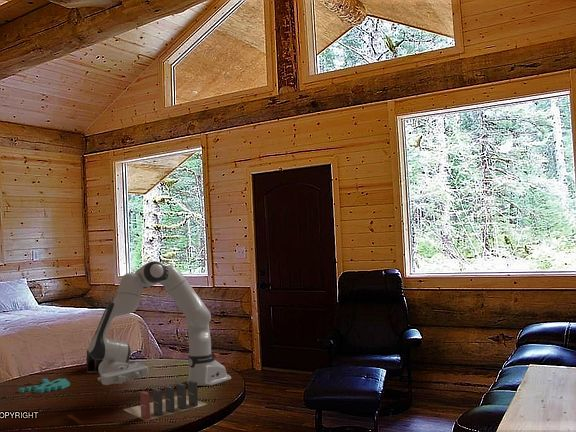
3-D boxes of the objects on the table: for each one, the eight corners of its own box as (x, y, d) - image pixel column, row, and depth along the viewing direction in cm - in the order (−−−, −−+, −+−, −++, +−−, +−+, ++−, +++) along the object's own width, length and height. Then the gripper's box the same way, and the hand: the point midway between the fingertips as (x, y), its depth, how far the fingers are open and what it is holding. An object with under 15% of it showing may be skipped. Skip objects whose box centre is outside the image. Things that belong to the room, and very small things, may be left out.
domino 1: (157, 412, 228) (156, 388, 228) (162, 415, 224) (161, 390, 224) (153, 413, 227) (152, 389, 227) (159, 416, 223) (158, 391, 223)
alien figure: (18, 393, 275) (54, 393, 271) (18, 388, 275) (53, 389, 271) (43, 382, 294) (77, 382, 290) (43, 378, 294) (77, 378, 290)
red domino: (144, 415, 224) (143, 391, 225) (150, 418, 220) (149, 393, 221) (141, 416, 223) (140, 391, 224) (146, 419, 219) (145, 394, 220)
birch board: (183, 396, 253) (183, 394, 253) (208, 406, 236) (208, 404, 236) (123, 411, 234) (122, 409, 234) (145, 423, 217) (145, 421, 217)
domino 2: (169, 409, 231) (168, 385, 232) (174, 411, 227) (173, 387, 228) (165, 410, 230) (164, 386, 231) (171, 412, 226) (170, 388, 227)
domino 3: (180, 406, 235) (179, 382, 235) (186, 408, 231) (185, 384, 231) (177, 407, 234) (176, 383, 234) (183, 409, 230) (182, 385, 230)
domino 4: (192, 403, 238) (191, 380, 239) (197, 405, 234) (197, 382, 235) (188, 404, 237) (187, 380, 238) (194, 406, 233) (193, 382, 234)
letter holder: (86, 373, 309) (85, 348, 310) (102, 365, 329) (101, 341, 330) (103, 373, 308) (102, 348, 309) (118, 365, 328) (117, 341, 328)
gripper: (95, 371, 237) (107, 375, 226) (139, 361, 250) (153, 365, 239) (96, 385, 237) (108, 391, 226) (140, 375, 250) (154, 379, 239)
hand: (132, 377), depth 233 cm, fingers open, 4 cm apart
